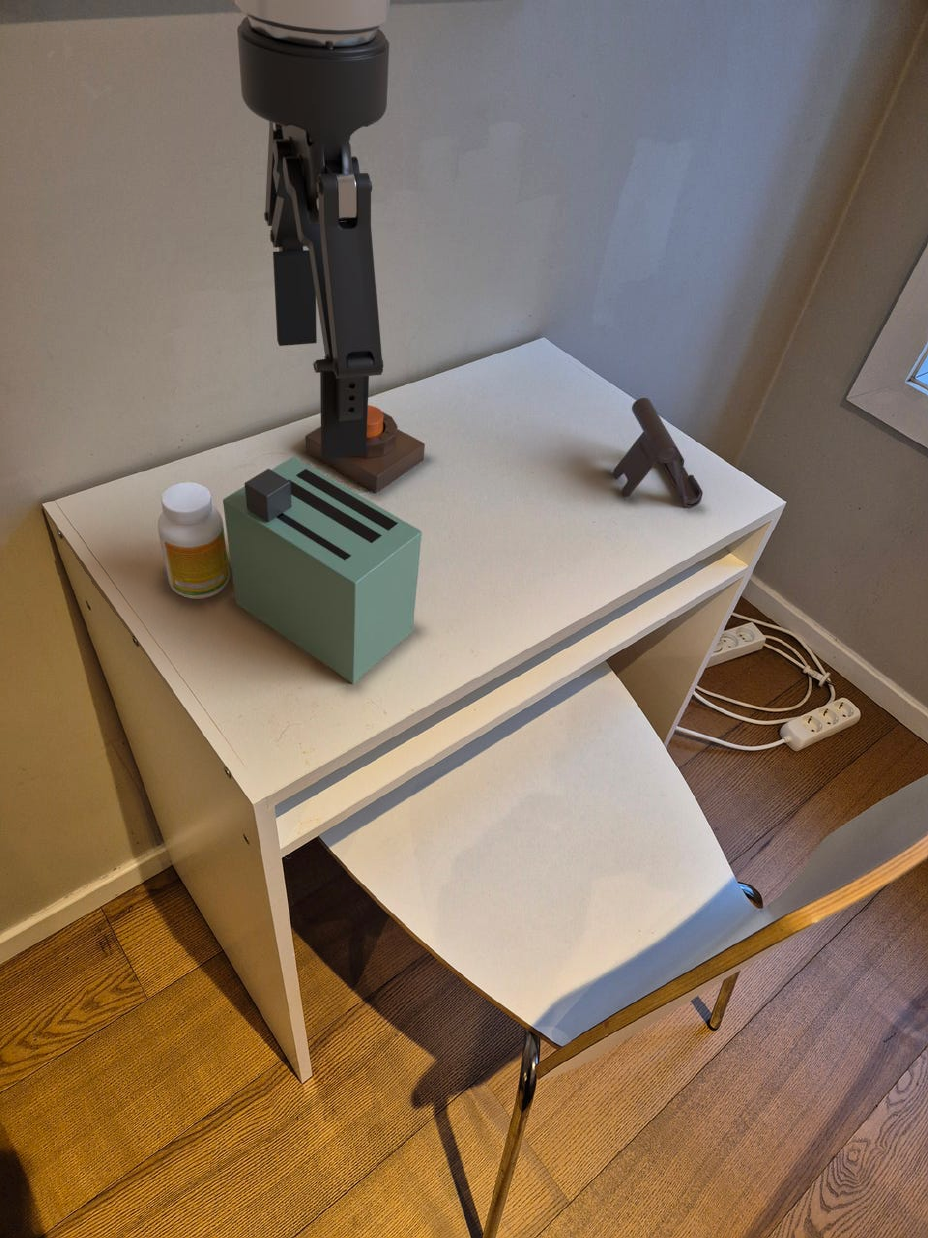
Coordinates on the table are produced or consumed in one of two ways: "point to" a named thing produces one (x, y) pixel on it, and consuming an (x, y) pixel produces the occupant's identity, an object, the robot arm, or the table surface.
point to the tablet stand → (656, 456)
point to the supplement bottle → (193, 541)
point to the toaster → (326, 570)
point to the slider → (268, 495)
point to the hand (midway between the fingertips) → (318, 394)
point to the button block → (375, 456)
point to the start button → (374, 422)
